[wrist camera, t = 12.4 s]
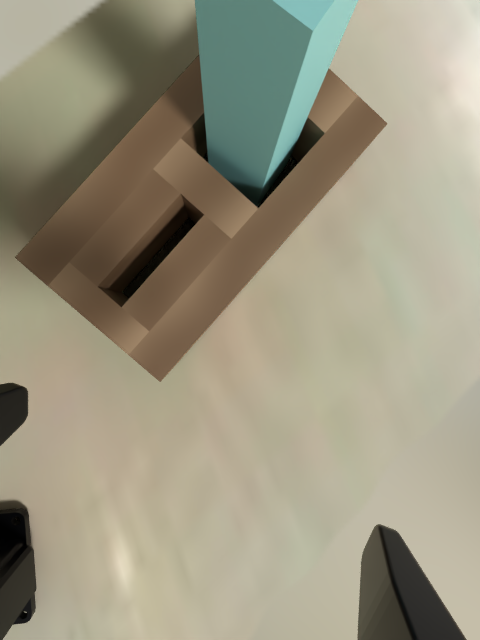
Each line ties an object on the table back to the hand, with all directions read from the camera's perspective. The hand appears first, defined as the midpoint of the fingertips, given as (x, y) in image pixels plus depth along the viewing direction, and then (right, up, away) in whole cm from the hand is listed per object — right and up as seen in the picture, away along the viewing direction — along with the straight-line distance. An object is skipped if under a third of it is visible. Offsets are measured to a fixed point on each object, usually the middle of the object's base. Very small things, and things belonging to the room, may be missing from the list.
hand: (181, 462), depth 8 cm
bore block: (0, +10, +12) cm, 16 cm away
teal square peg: (+2, +12, +13) cm, 18 cm away
